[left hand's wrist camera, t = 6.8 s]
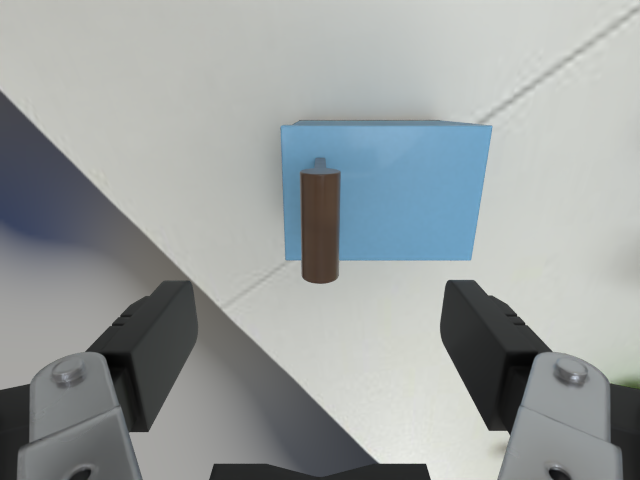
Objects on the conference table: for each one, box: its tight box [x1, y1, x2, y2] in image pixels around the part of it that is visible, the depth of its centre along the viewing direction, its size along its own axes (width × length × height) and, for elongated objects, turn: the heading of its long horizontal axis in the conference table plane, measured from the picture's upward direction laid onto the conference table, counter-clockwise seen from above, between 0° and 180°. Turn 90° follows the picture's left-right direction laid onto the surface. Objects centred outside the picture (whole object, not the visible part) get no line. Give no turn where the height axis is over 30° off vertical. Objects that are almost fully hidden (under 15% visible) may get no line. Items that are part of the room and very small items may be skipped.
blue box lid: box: [281, 125, 492, 284], centre depth 22 cm, size 14×10×9 cm
